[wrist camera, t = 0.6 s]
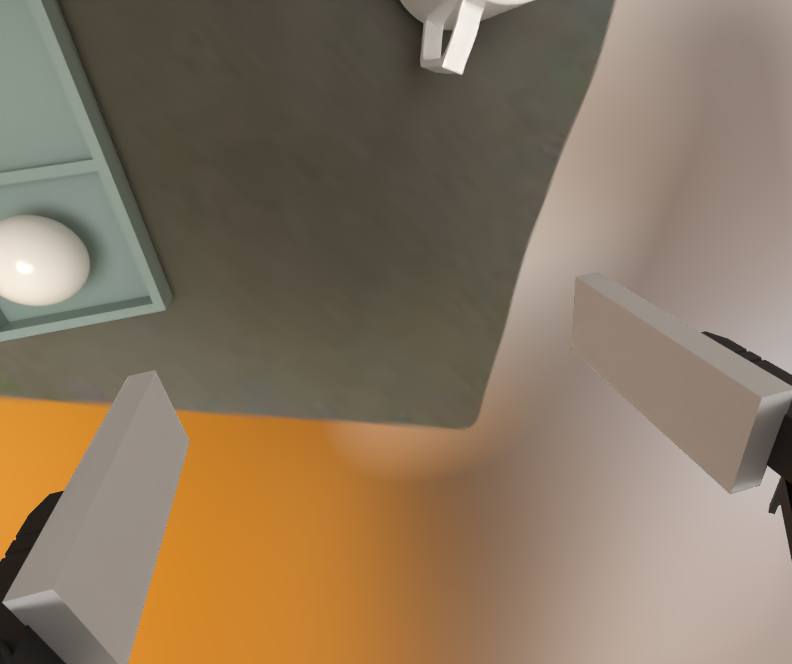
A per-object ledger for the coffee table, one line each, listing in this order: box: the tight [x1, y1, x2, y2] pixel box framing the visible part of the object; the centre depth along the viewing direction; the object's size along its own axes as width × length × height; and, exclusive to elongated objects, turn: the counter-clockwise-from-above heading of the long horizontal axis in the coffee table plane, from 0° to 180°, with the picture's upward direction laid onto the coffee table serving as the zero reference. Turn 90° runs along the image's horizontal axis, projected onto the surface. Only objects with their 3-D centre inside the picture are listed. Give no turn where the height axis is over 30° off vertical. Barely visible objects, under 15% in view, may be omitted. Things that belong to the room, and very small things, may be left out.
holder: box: [0, 0, 173, 342], centre depth 30 cm, size 21×12×2 cm, turn 7°
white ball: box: [0, 215, 90, 306], centre depth 30 cm, size 6×6×6 cm
